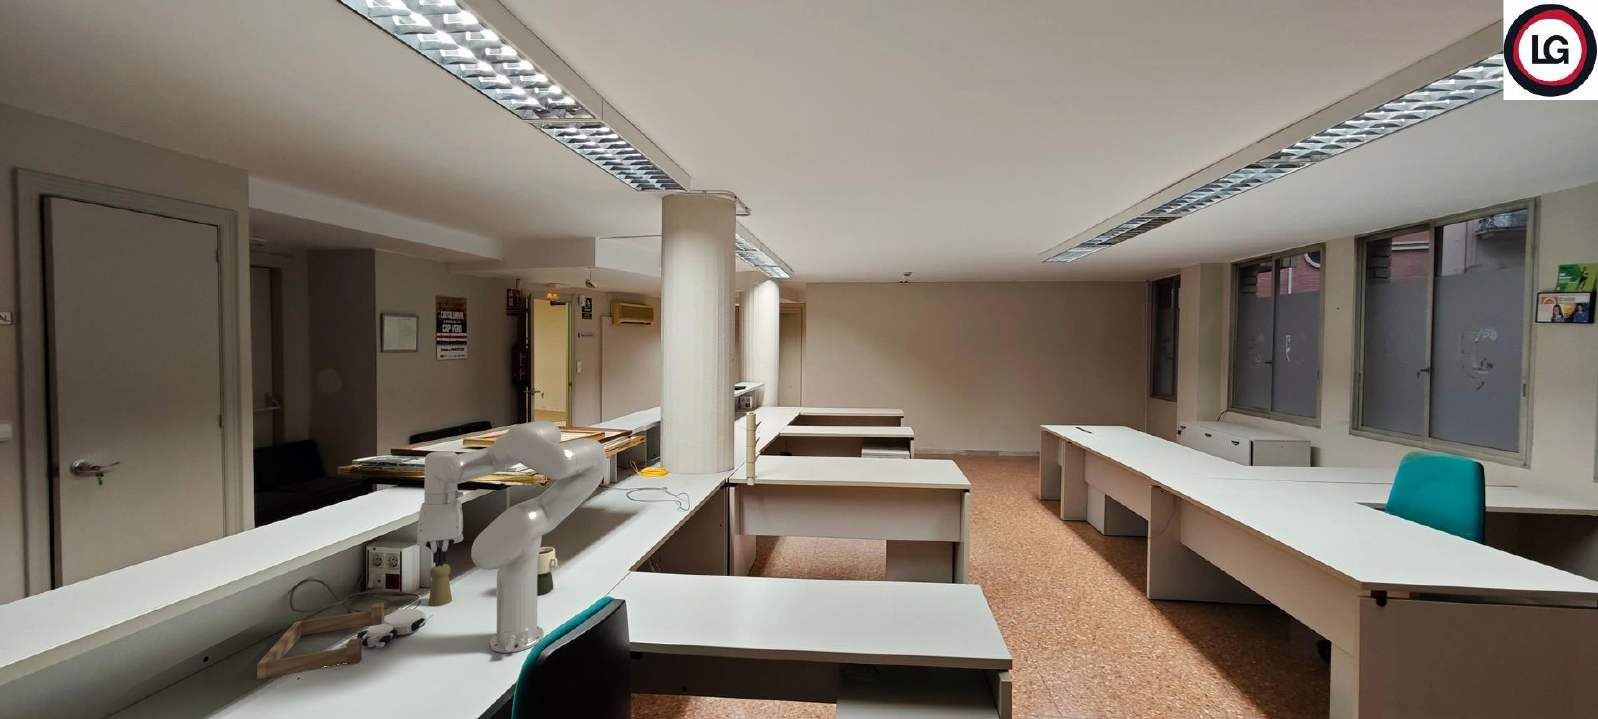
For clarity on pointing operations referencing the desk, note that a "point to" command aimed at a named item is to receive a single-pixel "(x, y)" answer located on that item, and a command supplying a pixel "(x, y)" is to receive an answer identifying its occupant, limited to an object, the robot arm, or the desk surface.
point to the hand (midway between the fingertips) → (440, 564)
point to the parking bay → (351, 654)
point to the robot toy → (393, 627)
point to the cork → (440, 586)
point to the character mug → (545, 569)
